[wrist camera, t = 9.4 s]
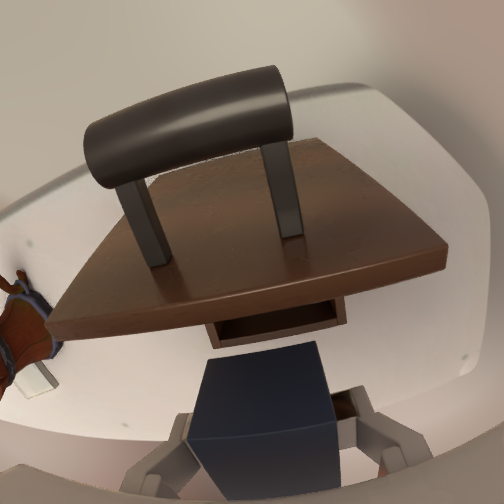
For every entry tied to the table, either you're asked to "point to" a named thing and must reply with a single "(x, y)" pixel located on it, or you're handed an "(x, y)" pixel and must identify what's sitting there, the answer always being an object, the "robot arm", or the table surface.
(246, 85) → the lid
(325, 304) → the chest
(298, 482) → the block
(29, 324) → the mug
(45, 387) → the hard drive
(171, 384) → the table surface
